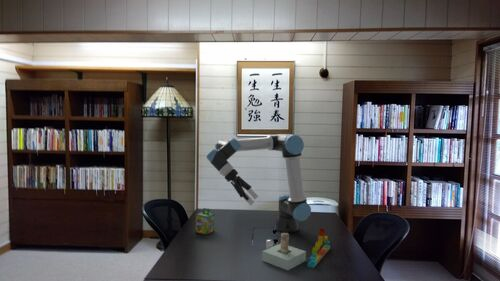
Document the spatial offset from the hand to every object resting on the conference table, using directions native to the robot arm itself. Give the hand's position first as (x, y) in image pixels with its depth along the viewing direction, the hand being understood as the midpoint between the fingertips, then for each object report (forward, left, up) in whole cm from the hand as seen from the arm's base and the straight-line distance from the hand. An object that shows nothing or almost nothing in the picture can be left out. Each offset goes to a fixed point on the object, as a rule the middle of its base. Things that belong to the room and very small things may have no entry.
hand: (254, 200), depth 185 cm
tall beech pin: (0, +21, -27) cm, 35 cm away
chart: (-18, +32, -28) cm, 46 cm away
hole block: (0, +21, -27) cm, 35 cm away
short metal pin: (-7, +6, -27) cm, 29 cm away
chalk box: (0, -41, -28) cm, 49 cm away
